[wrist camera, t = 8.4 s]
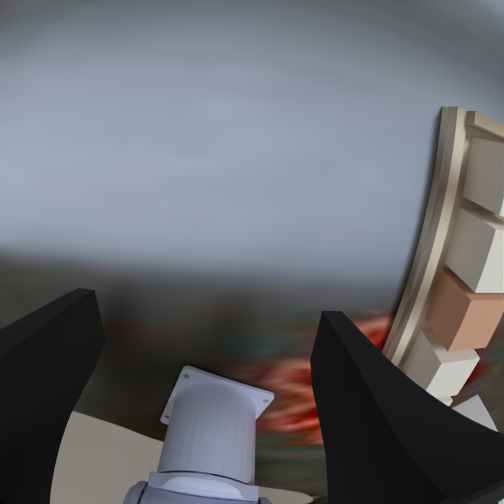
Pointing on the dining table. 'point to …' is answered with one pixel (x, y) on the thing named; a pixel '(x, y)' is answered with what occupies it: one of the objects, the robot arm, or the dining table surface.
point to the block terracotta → (463, 314)
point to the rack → (439, 224)
